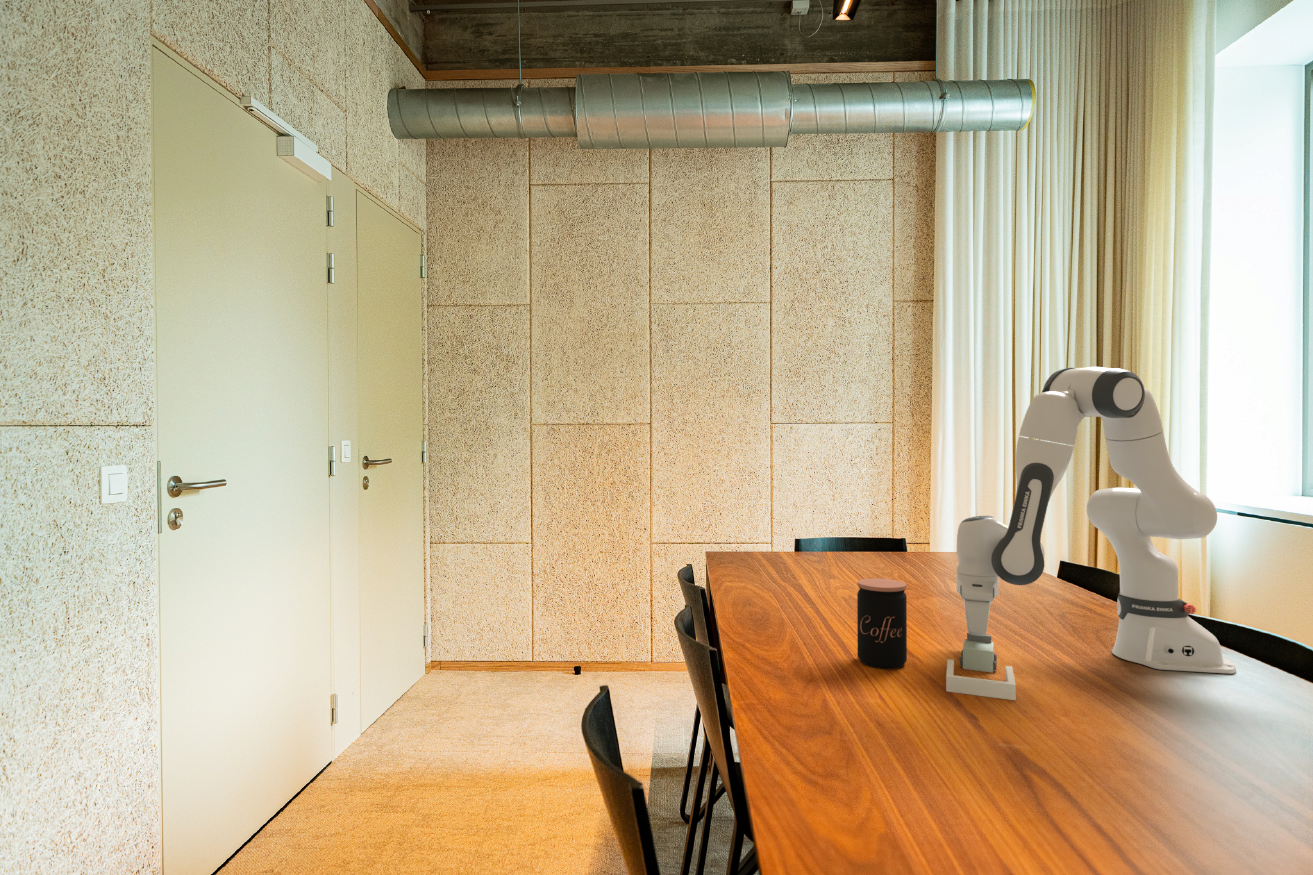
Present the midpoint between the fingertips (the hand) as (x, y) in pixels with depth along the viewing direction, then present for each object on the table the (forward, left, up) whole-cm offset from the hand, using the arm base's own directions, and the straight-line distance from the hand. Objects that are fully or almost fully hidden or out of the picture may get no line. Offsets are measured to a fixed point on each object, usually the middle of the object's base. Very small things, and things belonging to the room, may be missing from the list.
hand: (977, 645), depth 163 cm
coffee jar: (+20, +13, -3) cm, 24 cm away
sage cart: (0, +6, -3) cm, 7 cm away
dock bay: (0, +20, -3) cm, 20 cm away
